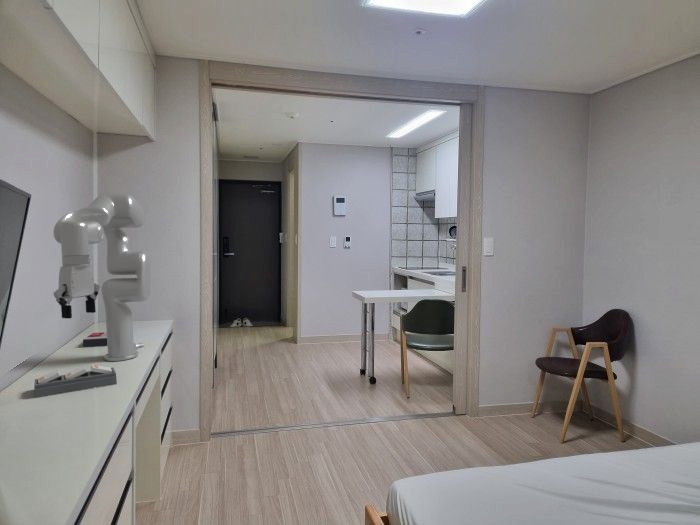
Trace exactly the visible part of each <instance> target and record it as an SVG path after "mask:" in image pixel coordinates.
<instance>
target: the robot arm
mask: <svg viewBox="0 0 700 525" xmlns="http://www.w3.org/2000/svg"><path fill="white" fill-rule="evenodd" d="M145 218H146V216H145V212H144V210H143V208H142V206H141V205H140V203H139V202H138V201H137V199H136V198H134V197H133V196H132V195H131V194H128V193H125V194H124V193H115V194H114V193H112V194H111V193H107V194H106V193H105V194H101V195H98V196H97V197H95V199H94V200H93V201H92V202H91V203H90V204H89V205H88V206H87V207H83V208H80V209H78V210H75V211H72V212H69V213H66V214H64V215H63V216H61V217H60V219H59V220H57V222H56V223H55V225H54V227H53V237H54V238H53V239H55V241H56V242H57V243H58V244H60V246H61V261H62V262H61V263H62V264H61V265H62V266H60V268H59V272H58V273H59V274H58V288H57V289H56V290H55V291H53V296H54V298H55V299H56V302H57V303H58V305H59V306H60V308H61V309H60V310H61V318H62V319H72V318H73V313H72V312H73V309H72V305H70V304H71V303H72V300H73V299H77V298H78V299H79V298H84V297H85V312H86V313H87V314H88V313H89V314H90V313H91V314H93V313H94V314H95V313H96V311H97V310H96V300H97V297H98V295H99V290H100V287H101V295H102V300H103V304H104V312H105V327H106V332H107V346H106V347H107V353H106V354H104V355H103V360H104V361H106V362H107V361H108V362H120V361H127V360H131V359H134V358H136V357H138V356H139V351H138V350H139V349H141V348H145V344H144V342H140V343H136V342H134V325H133V322H134V321H133V312H132V310H131V308H130V307H129V306H128V305H127V304H126V303H137V302H138V303H140V302H146V301H147V300H148V299H149V297H150V292H151V259H150V256H149V254H148V253H147V252H145V251H141V250H131V238H130V237H129V235H128V234H127V233H126V232H125V230H123V229H128V228H129V229H134V228H135V229H136V228H141V227H142V226H143V225H144V223H145ZM104 236H105V238H106V270H107V272H108V274H110V275H113V276H136V277H129V278H128V277H122V278H119V277H118V278H109V279H107V280H105V281H103V283H102V284H101V286H100V285H99V284H97V283H95V280H94V274H93V269H92V265H91V261H90V260H91V257H90V245H95V244H99V242H102V240H103V238H104Z"/></svg>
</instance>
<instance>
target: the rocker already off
mask: <svg viewBox="0 0 700 525" xmlns="http://www.w3.org/2000/svg"><path fill="white" fill-rule="evenodd" d="M111 368H112V367H109V366H104V365H103V366H102V365H99V364H98V365H97V364H91V366H90V371H93V372H99V373H105V374H106V373H112V370H111Z"/></svg>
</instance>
